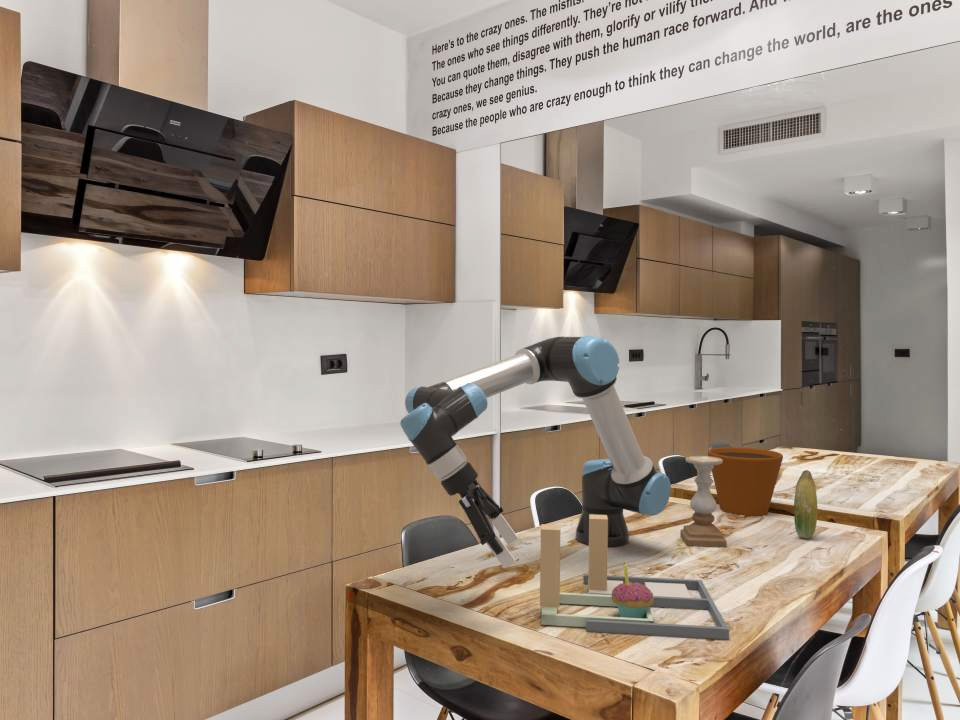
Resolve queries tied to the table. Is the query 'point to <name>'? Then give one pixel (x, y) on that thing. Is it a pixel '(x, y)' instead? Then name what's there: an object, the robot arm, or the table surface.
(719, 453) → the flower pot
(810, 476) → the vegetable
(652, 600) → the cupcake
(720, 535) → the candle holder
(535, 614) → the table surface
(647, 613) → the pale green frame
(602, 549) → the broken strip
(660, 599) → the board
